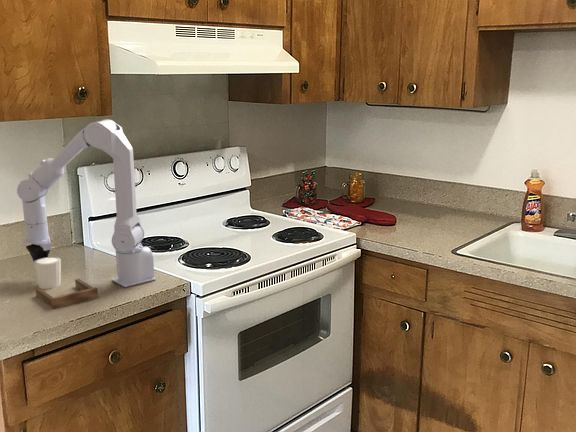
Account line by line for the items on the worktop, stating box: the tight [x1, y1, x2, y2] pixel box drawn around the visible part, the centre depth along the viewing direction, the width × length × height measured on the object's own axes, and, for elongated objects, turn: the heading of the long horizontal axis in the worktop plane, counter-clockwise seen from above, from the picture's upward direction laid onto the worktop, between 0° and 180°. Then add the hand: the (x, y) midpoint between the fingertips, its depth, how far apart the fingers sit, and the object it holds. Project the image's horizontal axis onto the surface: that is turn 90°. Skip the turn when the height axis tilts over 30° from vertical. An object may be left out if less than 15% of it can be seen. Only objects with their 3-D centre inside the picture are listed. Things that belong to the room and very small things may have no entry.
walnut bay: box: [35, 278, 99, 310], centre depth 160 cm, size 12×12×2 cm
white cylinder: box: [33, 256, 62, 290], centre depth 169 cm, size 7×7×7 cm
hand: (41, 269), depth 173 cm, fingers closed
